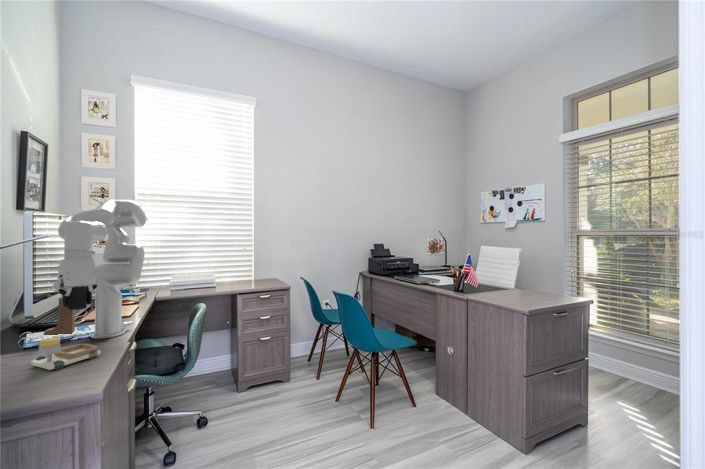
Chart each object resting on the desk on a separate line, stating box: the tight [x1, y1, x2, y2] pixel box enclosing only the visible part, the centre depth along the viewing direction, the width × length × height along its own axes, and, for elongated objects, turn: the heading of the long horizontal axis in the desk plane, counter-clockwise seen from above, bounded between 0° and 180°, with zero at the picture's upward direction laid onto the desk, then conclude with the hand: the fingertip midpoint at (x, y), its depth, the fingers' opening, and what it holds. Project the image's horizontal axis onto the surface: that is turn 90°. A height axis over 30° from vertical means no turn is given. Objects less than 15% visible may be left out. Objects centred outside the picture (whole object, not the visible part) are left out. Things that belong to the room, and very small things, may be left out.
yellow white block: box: [38, 337, 62, 357], centre depth 108 cm, size 5×5×4 cm
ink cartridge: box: [68, 286, 87, 311], centre depth 115 cm, size 5×2×8 cm, turn 130°
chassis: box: [30, 343, 102, 371], centre depth 113 cm, size 15×11×5 cm
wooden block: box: [43, 295, 76, 336], centre depth 136 cm, size 9×4×18 cm, turn 118°
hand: (77, 304), depth 115 cm, fingers closed on ink cartridge, 5 cm apart
